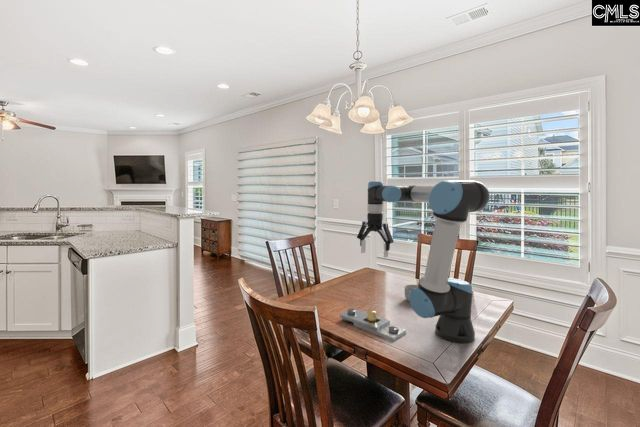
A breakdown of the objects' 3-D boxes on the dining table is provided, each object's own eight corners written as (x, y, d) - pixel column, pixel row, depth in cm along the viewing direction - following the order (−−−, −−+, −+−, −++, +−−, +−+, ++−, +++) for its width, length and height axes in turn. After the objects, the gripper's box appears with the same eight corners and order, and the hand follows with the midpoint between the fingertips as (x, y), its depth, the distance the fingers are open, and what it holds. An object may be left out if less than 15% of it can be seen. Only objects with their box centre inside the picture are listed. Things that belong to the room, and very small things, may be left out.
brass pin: (377, 326, 143) (378, 310, 142) (373, 329, 139) (373, 313, 139) (369, 323, 145) (370, 308, 144) (365, 326, 142) (365, 311, 141)
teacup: (401, 302, 171) (402, 287, 170) (406, 296, 180) (407, 282, 180) (429, 307, 164) (429, 292, 164) (432, 300, 174) (433, 286, 173)
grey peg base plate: (406, 333, 136) (406, 323, 136) (393, 341, 129) (393, 331, 129) (353, 314, 156) (353, 305, 155) (339, 320, 148) (339, 311, 148)
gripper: (401, 213, 155) (400, 257, 157) (359, 210, 172) (358, 249, 174) (393, 215, 150) (391, 260, 152) (350, 211, 167) (350, 252, 169)
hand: (374, 254), depth 163 cm, fingers open, 13 cm apart
